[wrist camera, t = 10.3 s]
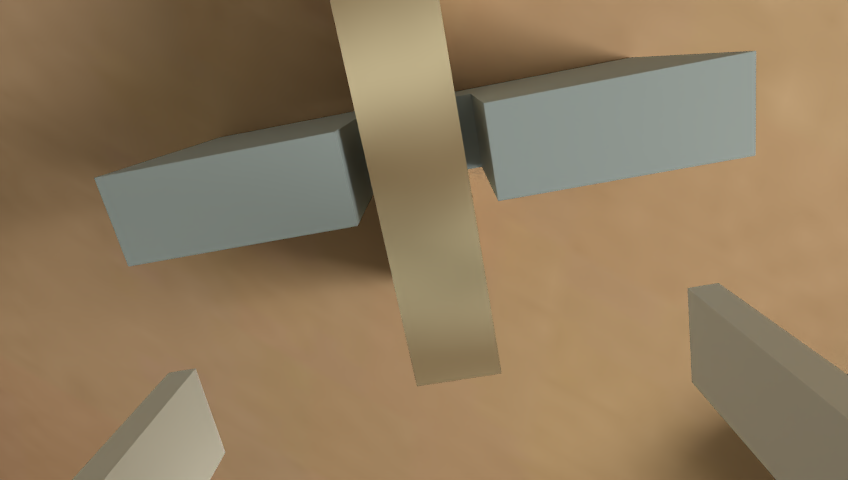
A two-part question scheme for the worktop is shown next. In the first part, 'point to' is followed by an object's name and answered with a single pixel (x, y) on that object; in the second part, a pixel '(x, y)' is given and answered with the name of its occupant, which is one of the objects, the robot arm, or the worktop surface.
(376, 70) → the beige flat block
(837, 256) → the worktop surface
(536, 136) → the slate notched block
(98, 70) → the worktop surface
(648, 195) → the worktop surface
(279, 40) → the worktop surface
